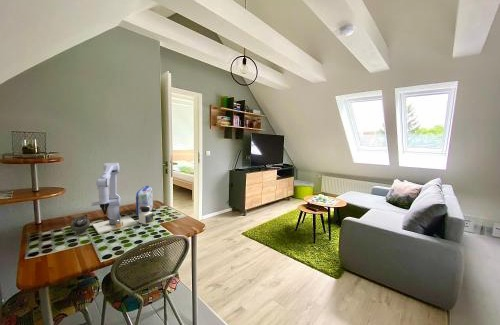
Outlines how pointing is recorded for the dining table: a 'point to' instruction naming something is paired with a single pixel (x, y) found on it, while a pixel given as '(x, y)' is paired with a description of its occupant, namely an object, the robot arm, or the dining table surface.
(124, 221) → the board
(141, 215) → the medicine bottle
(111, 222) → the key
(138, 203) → the lunch box
